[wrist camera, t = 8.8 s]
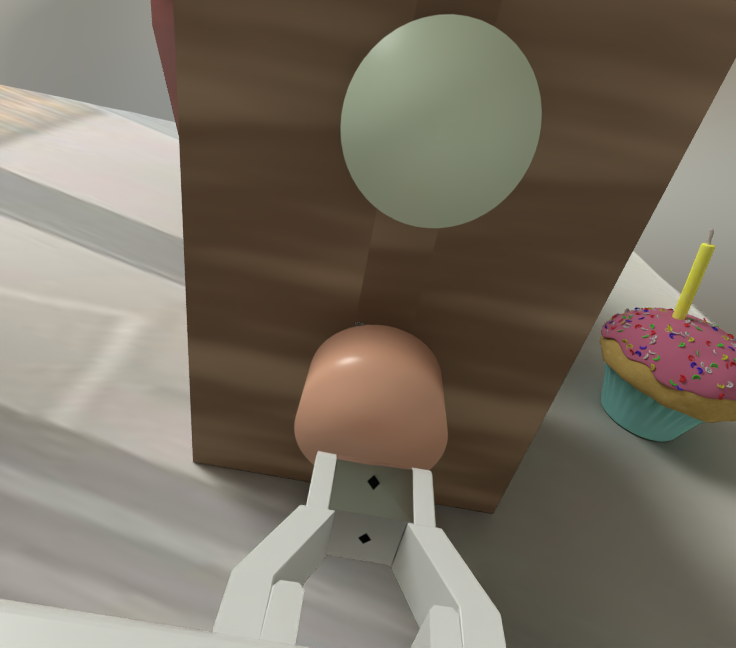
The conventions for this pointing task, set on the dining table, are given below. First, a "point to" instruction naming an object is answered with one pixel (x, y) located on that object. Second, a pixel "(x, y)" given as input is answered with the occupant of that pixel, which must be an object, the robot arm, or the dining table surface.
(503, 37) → the sage button
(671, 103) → the button panel
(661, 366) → the cupcake
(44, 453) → the dining table surface
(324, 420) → the terracotta button
